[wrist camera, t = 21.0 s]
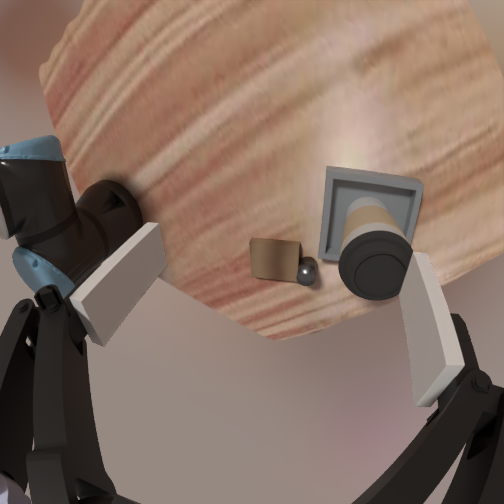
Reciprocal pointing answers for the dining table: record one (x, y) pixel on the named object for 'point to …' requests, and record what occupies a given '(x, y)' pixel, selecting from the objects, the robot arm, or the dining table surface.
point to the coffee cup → (373, 251)
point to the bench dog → (306, 271)
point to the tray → (365, 185)
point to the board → (274, 259)
